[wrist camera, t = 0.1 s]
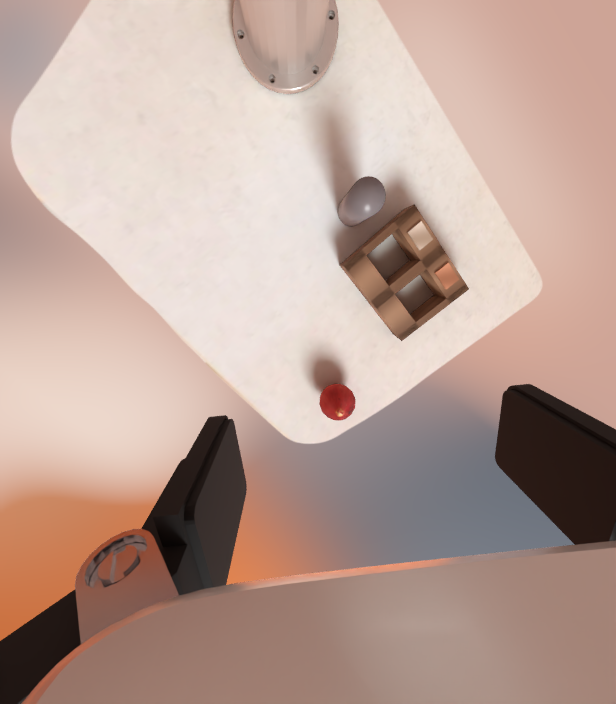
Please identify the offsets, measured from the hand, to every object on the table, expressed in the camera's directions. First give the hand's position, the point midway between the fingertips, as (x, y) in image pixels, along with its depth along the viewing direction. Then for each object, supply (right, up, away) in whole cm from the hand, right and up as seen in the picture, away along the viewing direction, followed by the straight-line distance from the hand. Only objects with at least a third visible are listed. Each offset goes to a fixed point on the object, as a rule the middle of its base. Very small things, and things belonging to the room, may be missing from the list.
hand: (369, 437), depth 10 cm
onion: (+3, -4, +41) cm, 41 cm away
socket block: (+12, +15, +35) cm, 40 cm away
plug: (+4, +23, +32) cm, 40 cm away
